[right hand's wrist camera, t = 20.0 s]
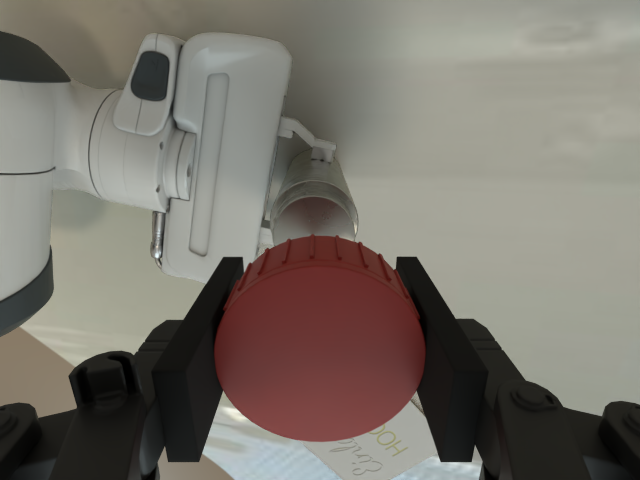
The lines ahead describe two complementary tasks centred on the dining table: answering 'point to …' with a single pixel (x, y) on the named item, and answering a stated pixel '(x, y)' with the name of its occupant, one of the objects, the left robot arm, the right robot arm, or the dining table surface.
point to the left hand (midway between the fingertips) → (325, 192)
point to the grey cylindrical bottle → (313, 202)
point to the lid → (319, 341)
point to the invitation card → (380, 448)
